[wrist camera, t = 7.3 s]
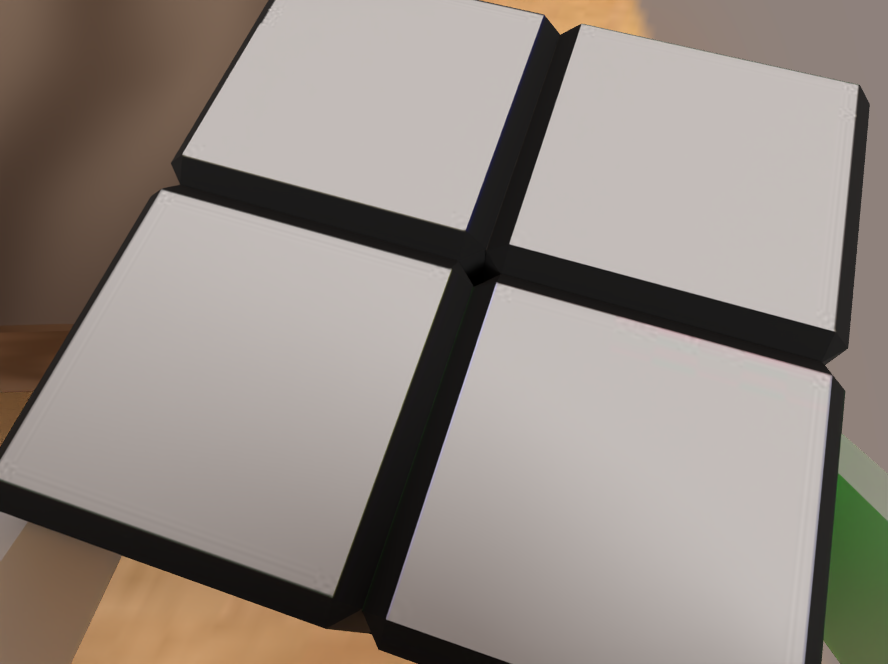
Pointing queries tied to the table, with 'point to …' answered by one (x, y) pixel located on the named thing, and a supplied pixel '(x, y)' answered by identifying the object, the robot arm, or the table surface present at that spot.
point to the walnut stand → (91, 145)
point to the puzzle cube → (477, 343)
